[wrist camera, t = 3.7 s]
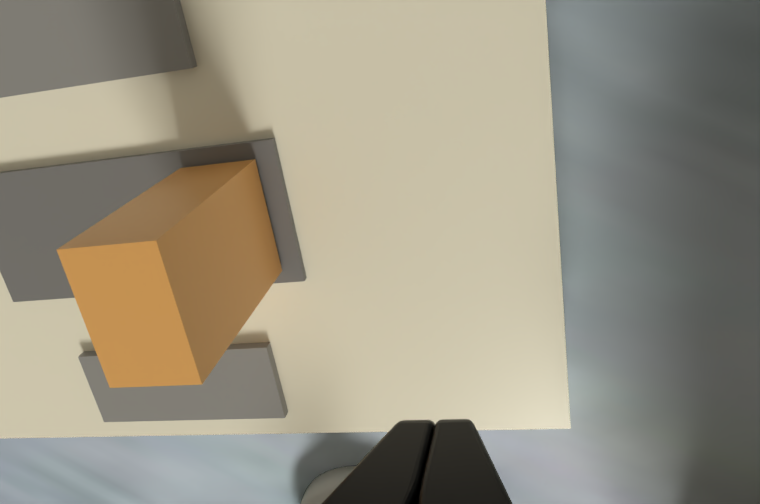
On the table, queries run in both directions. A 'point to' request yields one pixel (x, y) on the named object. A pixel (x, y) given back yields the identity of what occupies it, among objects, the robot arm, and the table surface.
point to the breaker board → (294, 207)
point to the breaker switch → (174, 274)
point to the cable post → (325, 485)
